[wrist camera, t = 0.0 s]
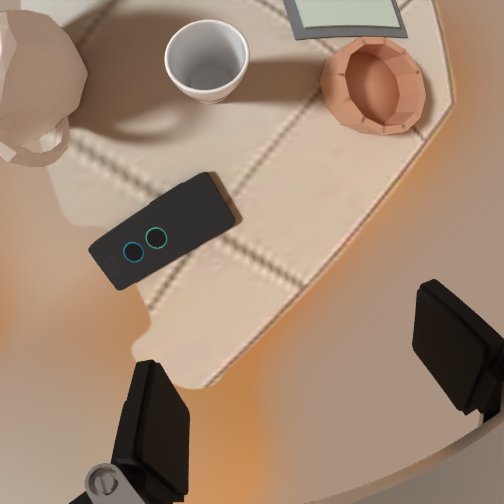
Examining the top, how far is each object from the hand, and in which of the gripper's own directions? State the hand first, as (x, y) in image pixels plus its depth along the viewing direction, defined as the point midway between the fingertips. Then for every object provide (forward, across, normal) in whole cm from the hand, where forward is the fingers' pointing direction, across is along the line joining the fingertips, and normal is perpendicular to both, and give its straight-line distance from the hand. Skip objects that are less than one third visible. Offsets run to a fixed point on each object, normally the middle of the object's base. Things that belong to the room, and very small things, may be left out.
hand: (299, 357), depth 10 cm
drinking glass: (+31, 0, -14) cm, 34 cm away
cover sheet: (+31, -21, -27) cm, 46 cm away
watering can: (+31, +21, -24) cm, 45 cm away
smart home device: (+32, +12, +3) cm, 34 cm away
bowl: (+31, -20, -10) cm, 38 cm away
